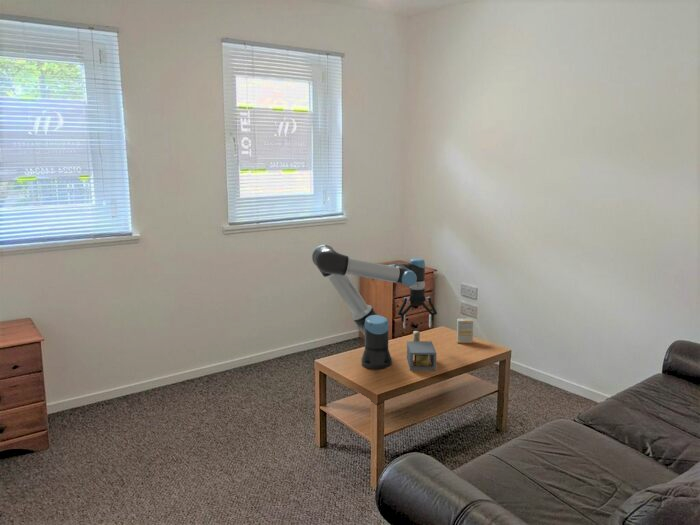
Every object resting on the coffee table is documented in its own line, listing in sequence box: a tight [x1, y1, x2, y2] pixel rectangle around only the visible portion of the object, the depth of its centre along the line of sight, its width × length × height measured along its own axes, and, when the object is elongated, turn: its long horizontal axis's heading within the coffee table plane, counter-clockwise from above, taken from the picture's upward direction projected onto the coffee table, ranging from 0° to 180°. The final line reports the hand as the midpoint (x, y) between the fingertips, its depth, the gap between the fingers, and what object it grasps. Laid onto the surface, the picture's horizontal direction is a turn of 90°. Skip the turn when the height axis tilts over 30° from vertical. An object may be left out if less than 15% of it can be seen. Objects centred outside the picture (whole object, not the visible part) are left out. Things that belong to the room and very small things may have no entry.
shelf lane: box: [406, 340, 437, 372], centre depth 272 cm, size 12×16×9 cm
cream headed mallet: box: [412, 330, 429, 367], centre depth 281 cm, size 6×25×10 cm, turn 0°
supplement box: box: [456, 317, 474, 345], centre depth 302 cm, size 8×5×13 cm, turn 84°
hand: (417, 327), depth 290 cm, fingers open, 13 cm apart
